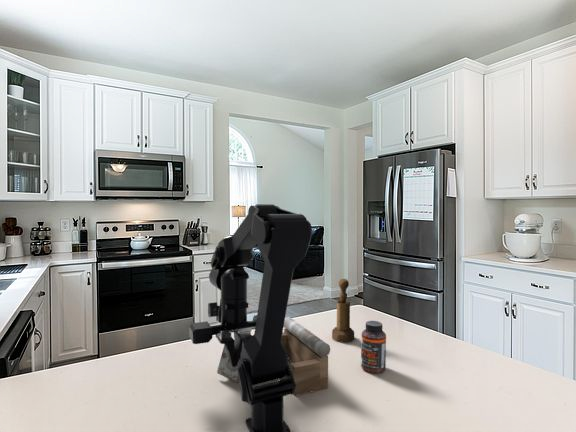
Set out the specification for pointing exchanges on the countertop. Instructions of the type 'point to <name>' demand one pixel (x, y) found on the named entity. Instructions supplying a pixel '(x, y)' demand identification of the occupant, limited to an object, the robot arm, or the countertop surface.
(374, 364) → the supplement bottle
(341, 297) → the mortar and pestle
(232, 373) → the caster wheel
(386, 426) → the countertop surface
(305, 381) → the cradle
